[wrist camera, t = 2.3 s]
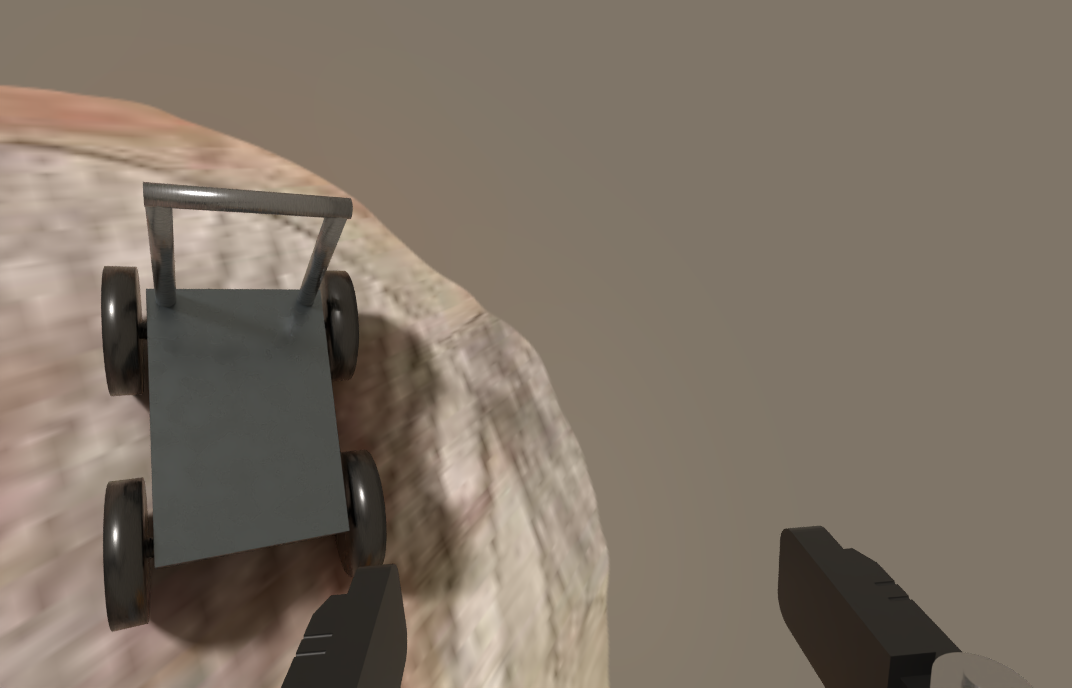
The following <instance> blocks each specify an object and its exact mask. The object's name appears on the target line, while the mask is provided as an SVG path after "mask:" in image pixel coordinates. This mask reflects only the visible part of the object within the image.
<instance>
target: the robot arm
mask: <svg viewBox="0 0 1072 688" xmlns="http://www.w3.org/2000/svg"><path fill="white" fill-rule="evenodd" d="M778 600H779V605H780V610H781V613H782V616H783V619H784V621H785V623H786V625H787V627H788V628H789V630H790V631H791V633H792V635H793V636H794V638H795V639H796V641H797V643H798V644H799V646H800V648H801V649H802V651H803V652H804V654H805V656H806V657H807V659H808V660H809V662H810V664H811V665H812V667H813V668H814V670H815V672H816V673H817V675H818V677H819V678H820V679H821V681H822V683H823V684H824V686H825V688H1033V687H1032V686H1031V685H1030V684H1029V683H1028V681H1027V680H1025V679H1024V678H1023V677H1022V676H1020V675H1019V674H1018V673H1016V672H1015V671H1014V670H1012V669H1010V668H1009V667H1007V666H1005V665H1003V664H1001V663H999V662H997V661H995V660H992V659H990V658H987V657H984V656H980V655H976V654H971V653H963V652H962V651H961V650H960V649H959V648H958V647H957V646H956V645H955V644H954V643H953V642H952V641H951V640H950V639H949V638H948V637H947V636H946V634H945V633H944V632H943V631H942V630H941V629H940V628H939V627H938V626H937V625H936V624H935V623H934V622H933V621H932V620H931V619H930V618H929V617H928V616H927V615H926V614H925V612H924V611H923V610H922V609H921V608H920V607H919V606H918V605H917V604H916V603H915V602H914V601H913V600H910V599H909V596H908V595H907V594H906V593H905V591H904V590H903V589H902V588H901V587H900V586H899V585H898V584H897V585H895V582H894V580H893V579H892V578H891V577H890V576H889V575H888V574H887V573H886V572H885V570H883V568H882V567H881V566H880V565H879V564H878V563H877V562H875V561H873V560H872V559H870V558H868V557H866V556H865V555H863V554H861V553H860V552H858V551H856V550H855V549H853V548H850V549H843V548H842V547H841V546H840V544H838V542H837V541H836V540H835V539H834V538H833V537H832V536H831V534H830V533H829V532H828V531H827V530H826V529H825V528H824V527H822V526H812V527H800V528H788V529H784V530H783V531H782V533H781V537H780V556H779V577H778ZM406 654H407V628H406V620H405V614H404V607H403V600H402V593H401V587H400V580H399V574H398V569H397V566H396V565H395V564H387V565H376V566H364V567H358V568H357V570H356V572H355V575H354V577H353V580H352V583H351V585H350V588H349V591H348V593H347V594H342V595H331V596H330V597H329V598H328V599H327V600H326V601H325V602H324V603H323V604H322V605H321V607H320V608H319V609H318V610H317V611H316V612H315V613H314V614H313V615H312V618H311V620H310V622H309V624H308V627H307V629H306V631H305V634H304V639H303V640H301V643H300V645H299V647H298V650H297V652H296V657H294V659H293V661H292V663H291V666H290V668H289V670H288V673H287V675H286V677H285V679H284V682H283V684H282V686H281V688H400V686H401V681H402V676H403V672H404V667H405V662H406Z"/></svg>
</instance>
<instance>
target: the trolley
mask: <svg viewBox="0 0 1072 688" xmlns="http://www.w3.org/2000/svg"><path fill="white" fill-rule="evenodd" d="M143 196H144V207H145V209H146V218H147V227H148V236H149V245H150V254H151V263H152V272H153V281H154V289H146V304H147V322H142V308H141V295H140V284H139V276H138V270H137V267H120V266H104V269H103V274H102V287H101V318H102V339H103V353H104V363H105V372H106V379H107V385H108V390H109V393H110V395H111V396H122V395H137V394H143V390H144V347H143V339H148V368H149V400H150V432H151V464H152V496H153V528H154V538H149V528H148V511H147V498H146V488H145V481H144V478H143V477H142V478H135V479H127V480H119V481H111V482H108V484H107V488H106V494H105V504H104V524H103V563H104V586H105V600H106V609H107V617H108V622H109V627H110V630H111V631H112V632H113V631H118V630H122V629H127V628H131V627H135V626H140V625H144V624H148V622H149V612H150V558H151V557H154V560H155V569H159V568H164V567H169V566H174V565H180V564H185V563H190V562H195V561H200V560H206V559H211V558H216V557H221V556H227V555H232V554H237V553H242V552H248V551H253V550H258V549H263V548H268V547H274V546H279V545H284V544H289V543H295V542H300V541H305V540H310V539H315V538H321V537H326V536H331V535H335V538H336V543H337V548H338V552H339V556H340V559H341V562H342V565H343V567H344V570H345V571H346V573H347V574H348V576H350V577H354V575H355V572H356V570H357V568H358V567H364V566H376V565H382V564H383V561H384V557H385V550H386V513H385V504H384V497H383V491H382V486H381V481H380V477H379V474H378V470H377V467H376V464H375V462H374V460H373V458H372V456H371V454H370V453H369V452H368V451H367V450H357V451H349V452H341V453H340V448H339V440H338V432H337V423H336V415H335V407H334V398H333V390H332V382H331V381H341V380H349V379H351V377H352V376H353V373H354V371H355V367H356V362H357V356H358V344H359V323H358V309H357V302H356V296H355V291H354V287H353V283H352V280H351V278H350V276H349V274H348V273H347V272H346V271H326V270H327V268H328V265H329V263H330V260H331V258H332V255H333V253H334V250H335V248H336V245H337V243H338V240H339V238H340V235H341V233H342V230H343V228H344V225H345V223H346V220H347V219H351V217H352V210H353V206H352V200H351V198H340V197H328V196H315V195H302V194H289V193H277V192H264V191H251V190H238V189H226V188H213V187H200V186H187V185H174V184H162V183H149V182H143ZM172 208H177V209H193V210H209V211H225V212H242V213H258V214H274V215H291V216H307V217H323V218H324V221H323V224H322V226H321V229H320V232H319V235H318V238H317V241H316V244H315V247H314V250H313V253H312V256H311V259H310V262H309V264H308V267H307V270H306V273H305V276H304V279H303V282H302V285H301V288H300V290H277V289H176V282H175V260H174V238H173V216H172Z"/></svg>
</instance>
